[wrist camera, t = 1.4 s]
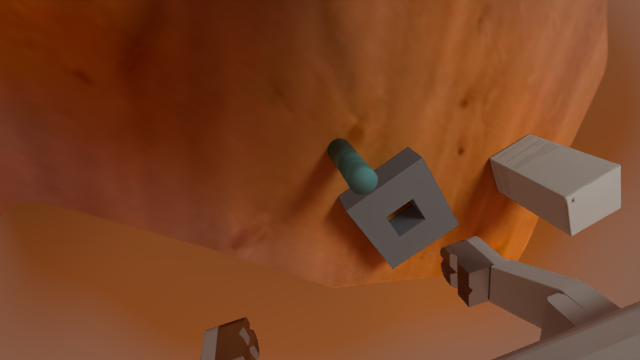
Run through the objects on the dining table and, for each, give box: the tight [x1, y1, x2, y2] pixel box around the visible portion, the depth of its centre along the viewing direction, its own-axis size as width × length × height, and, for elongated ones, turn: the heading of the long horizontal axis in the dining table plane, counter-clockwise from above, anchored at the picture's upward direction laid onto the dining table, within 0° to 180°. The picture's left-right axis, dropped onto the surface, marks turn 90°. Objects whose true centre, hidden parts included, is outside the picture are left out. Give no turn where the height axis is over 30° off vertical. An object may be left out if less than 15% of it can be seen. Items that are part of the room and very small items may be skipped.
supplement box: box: [490, 134, 621, 236], centre depth 41 cm, size 7×7×13 cm
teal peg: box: [328, 139, 378, 195], centre depth 35 cm, size 3×3×10 cm
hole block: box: [338, 147, 459, 269], centre depth 43 cm, size 12×14×4 cm
